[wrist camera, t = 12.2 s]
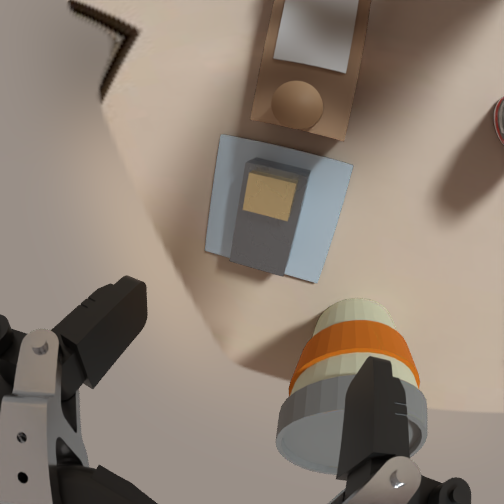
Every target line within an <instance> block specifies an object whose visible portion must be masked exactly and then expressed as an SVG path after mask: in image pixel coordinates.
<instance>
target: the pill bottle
mask: <svg viewBox="0 0 504 504" xmlns="http://www.w3.org/2000/svg"><path fill="white" fill-rule="evenodd" d="M494 126H495V130H496V133H497V135H498V137H499V139H500V141H501V142H502V144H503V145H504V97H502V98H501V99H500V100H499V101H498V103H497V104H496V107H495V110H494Z"/></svg>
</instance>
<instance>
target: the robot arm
mask: <svg viewBox="0 0 504 504" xmlns="http://www.w3.org/2000/svg"><path fill="white" fill-rule="evenodd" d="M146 295H147V293H146V284H145V283H144V282H142V281H140V280H137V279H135V278H132V277H130V276H124V277H122V278H121V279H120V280H119V281H118V282H117V283H115V284H114V285H113V284H108V285H106V286H104V287H101V288H99V289H97V290H96V291H95V292H94V293H92V294H91V295H90V296H89V297H88V299H85V300H84V301H83V302H82V303H81V305H79V306H77V308H75V309H74V310H73V311H72V312H71V313H70V314H69V315H67V316H66V317H65V318H64V319H63V320H62V321H61V322H60V323H59V324H57V325H56V326H55V327H54V328H53V329H52V330H48V329H36V330H33V331H31V332H30V333H28V334H26V333H23V332H20V331H17V330H13V329H11V327H10V325H9V322H8V320H7V318H6V317H5V316H3V315H0V504H157V503H156V502H155V501H153V500H152V499H151V498H149V497H148V496H147V495H146V494H144V493H143V492H142V491H141V490H139V489H138V488H137V487H136V486H135V485H133V484H132V483H130V482H129V481H127V480H125V479H123V478H121V477H120V476H117V475H116V474H114V473H113V472H111V471H109V470H107V469H106V468H104V467H102V466H101V465H99V466H98V467H97V469H94V468H90V467H89V463H88V456H87V452H86V449H85V446H84V443H83V440H82V435H81V421H80V398H79V387H80V386H81V385H82V384H83V383H84V384H85V385H87V386H88V387H90V388H92V389H94V387H95V386H96V385H97V384H98V382H99V381H100V380H101V378H102V377H103V376H104V375H105V374H106V373H107V371H108V370H109V369H110V368H111V366H112V365H113V364H114V363H115V362H116V360H117V359H118V358H119V357H120V355H121V354H122V353H123V352H124V351H125V349H126V348H127V347H128V346H129V345H130V343H131V342H132V341H133V340H134V339H135V337H136V336H137V335H138V334H139V333H140V332H141V330H142V329H143V327H144V325H145V323H146V320H147V296H146ZM406 404H407V403H406V393H405V389H404V387H403V385H402V383H401V381H400V379H399V378H396V377H393V374H392V364H391V361H389V360H386V359H381V358H377V357H373V356H369V357H368V358H367V359H366V360H365V362H364V363H363V365H362V367H361V368H360V370H359V371H358V372H357V374H356V375H355V377H354V378H353V380H352V381H351V383H350V385H349V387H348V390H347V393H346V397H345V408H344V420H343V430H342V439H341V447H340V455H339V463H338V470H337V476H336V479H339V480H346V481H347V483H346V488H345V489H344V490H343V491H341V492H340V493H339V494H338V495H337V496H336V497H335V498H334V499H332V501H330V502H329V503H328V504H471V491H470V487H469V486H468V484H467V482H466V481H464V480H463V479H461V478H451V479H449V480H448V481H446V482H444V483H440V482H438V481H435V480H432V479H429V478H427V477H424V476H422V475H421V472H420V469H419V467H418V466H417V464H416V463H415V462H414V461H413V460H411V459H410V454H409V430H408V417H407V406H406Z"/></svg>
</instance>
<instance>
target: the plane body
mask: <svg viewBox="0 0 504 504" xmlns="http://www.w3.org/2000/svg"><path fill="white" fill-rule="evenodd" d="M370 4H371V0H274V3H273V8H272V12H271V17H270V22H269V26H268V31H267V36H266V41H265V45H264V50H263V55H262V60H261V65H260V70H259V75H258V80H257V85H256V91H255V96H254V101H253V106H252V112H251V117H250V120H254V121H260V122H265V123H270V124H275V125H280V126H284V127H288V128H292V129H298V130H302V131H306V132H310V133H314V134H318V135H322V136H326V137H330V138H333V139H337V140H341V141H344V139H345V135H346V131H347V126H348V122H349V118H350V113H351V109H352V104H353V99H354V95H355V90H356V85H357V80H358V75H359V70H360V65H361V59H362V54H363V48H364V42H365V37H366V31H367V24H368V18H369V11H370Z"/></svg>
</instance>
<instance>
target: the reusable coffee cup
mask: <svg viewBox="0 0 504 504" xmlns="http://www.w3.org/2000/svg"><path fill="white" fill-rule="evenodd" d="M369 356H373V357H377V358H381V359H386V360H389V361H391V364H392V374H393V377H396V378H399V379H400V381H401V383H402V385H403V387H404V389H405V393H406V403H407V404H406V406H407V417H408V430H409V454H410V457H412V456H413V455H414V454H415V453H417V452H418V451H419V450H420V449H421V447H422V446H423V445H424V443H425V441H426V438H427V403H426V399H425V397H424V395H423V393H422V392H421V391H420V390H419V384H420V380H419V375H418V372H417V369H416V366H415V364H414V361H413V359H412V356H411V353H410V351H409V348H408V346H407V344H406V342H405V340H404V338H403V337H402V336H401V335H400V334H399V333H398V332H397V330H396V327H395V325H394V323H393V320H392V318H391V316H390V314H389V312H388V311H387V310H386V309H385V308H384V307H383V306H382V305H380V304H379V303H377V302H374V301H372V300H368V299H363V298H353V299H346V300H343V301H340V302H337V303H335V304H334V305H332V306H330V307H329V308H328V309H326V310H325V311H324V312H323V314H322V315H321V316H320V318H319V320H318V322H317V325H316V328H315V330H314V333H313V336H312V338H311V339H310V340H309V341H308V343H307V344H306V346H305V348H304V349H303V352H302V354H301V357H300V359H299V362H298V364H297V367H296V369H295V372H294V374H293V377H292V379H291V382H290V386H289V397H288V398H287V399H286V401H285V402H284V404H283V405H282V406H281V410H280V413H279V420H278V428H277V435H276V447H277V449H278V451H279V452H280V454H281V455H282V456H283V457H284V458H285V459H287V460H289V461H290V462H291V463H293V464H295V465H297V466H299V467H302V468H304V469H307V470H310V471H315V472H319V473H324V474H334V475H337V470H338V463H339V455H340V447H341V439H342V430H343V420H344V408H345V397H346V393H347V390H348V387H349V385H350V383H351V381H352V380H353V378H354V377H355V375H356V374H357V372H358V371H359V370H360V368H361V367H362V365H363V363H364V362H365V360H366V359H367V358H368V357H369Z"/></svg>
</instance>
